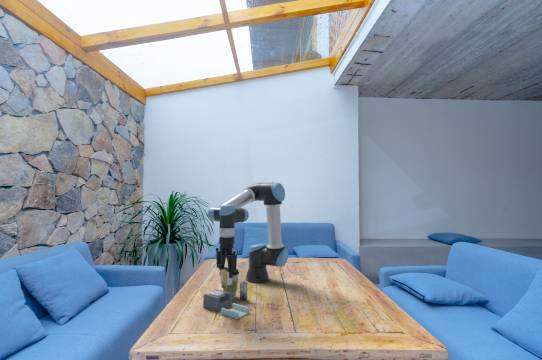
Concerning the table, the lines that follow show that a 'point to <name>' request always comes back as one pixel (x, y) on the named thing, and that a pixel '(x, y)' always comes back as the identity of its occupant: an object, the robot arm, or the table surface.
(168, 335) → the table surface
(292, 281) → the table surface
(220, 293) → the plate
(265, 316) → the table surface
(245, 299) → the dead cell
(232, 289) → the coffee cup
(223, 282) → the cell
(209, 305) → the cradle
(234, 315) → the trough
